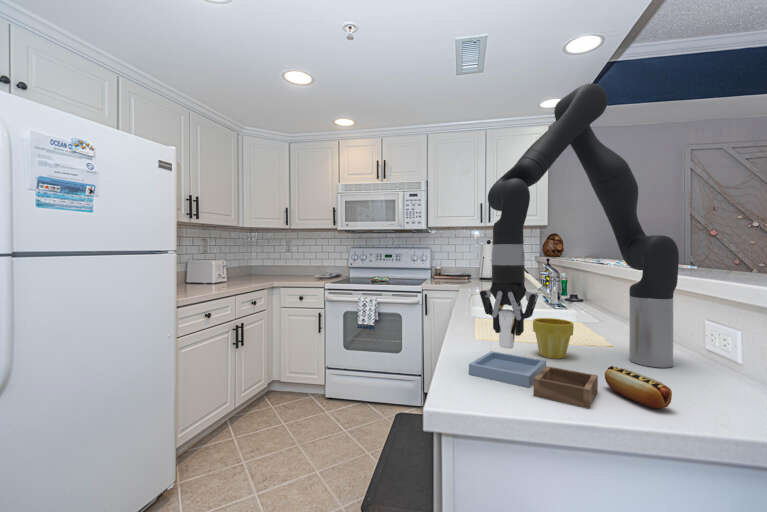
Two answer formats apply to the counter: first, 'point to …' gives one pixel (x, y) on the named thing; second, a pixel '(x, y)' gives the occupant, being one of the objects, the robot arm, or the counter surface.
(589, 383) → the holder
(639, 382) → the hot dog
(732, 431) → the counter surface
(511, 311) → the milkshake
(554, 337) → the plant pot
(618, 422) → the counter surface
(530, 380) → the tray
